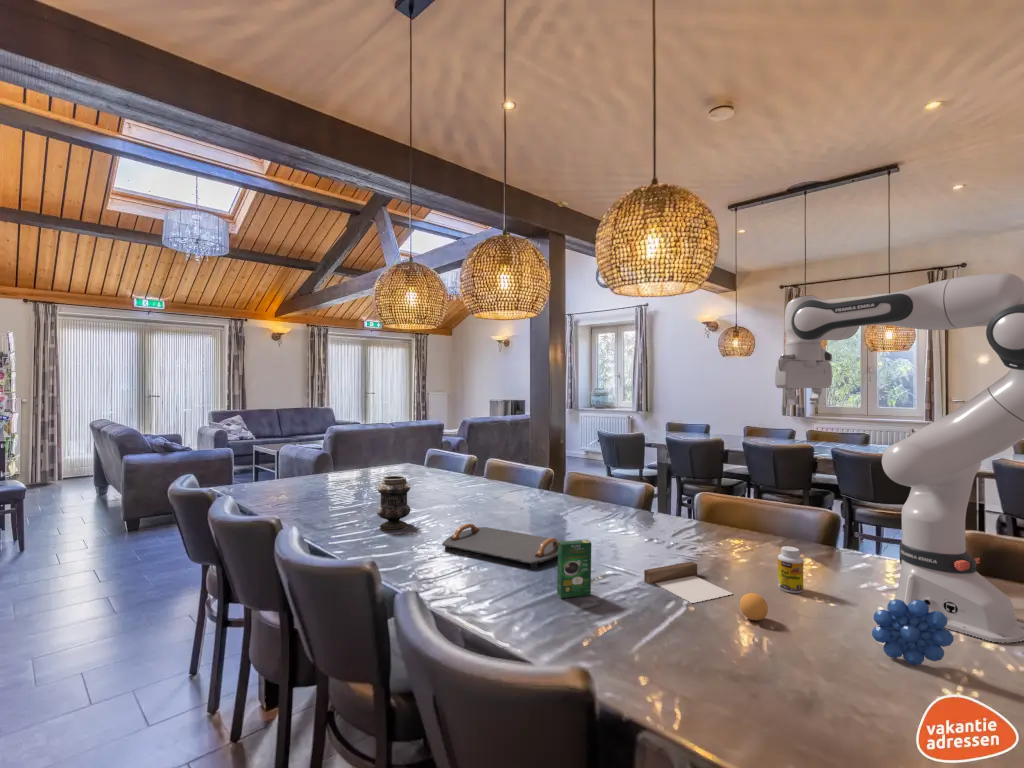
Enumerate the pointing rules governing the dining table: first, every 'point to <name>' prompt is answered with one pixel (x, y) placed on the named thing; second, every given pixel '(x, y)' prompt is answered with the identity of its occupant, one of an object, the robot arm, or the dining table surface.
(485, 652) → the dining table surface
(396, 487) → the apothecary jar
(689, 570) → the stop rail
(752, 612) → the ball
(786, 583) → the supplement bottle
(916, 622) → the blue bumpy cluster
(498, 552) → the serving board
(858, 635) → the dining table surface
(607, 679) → the dining table surface
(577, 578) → the coffee box
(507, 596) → the dining table surface
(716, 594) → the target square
